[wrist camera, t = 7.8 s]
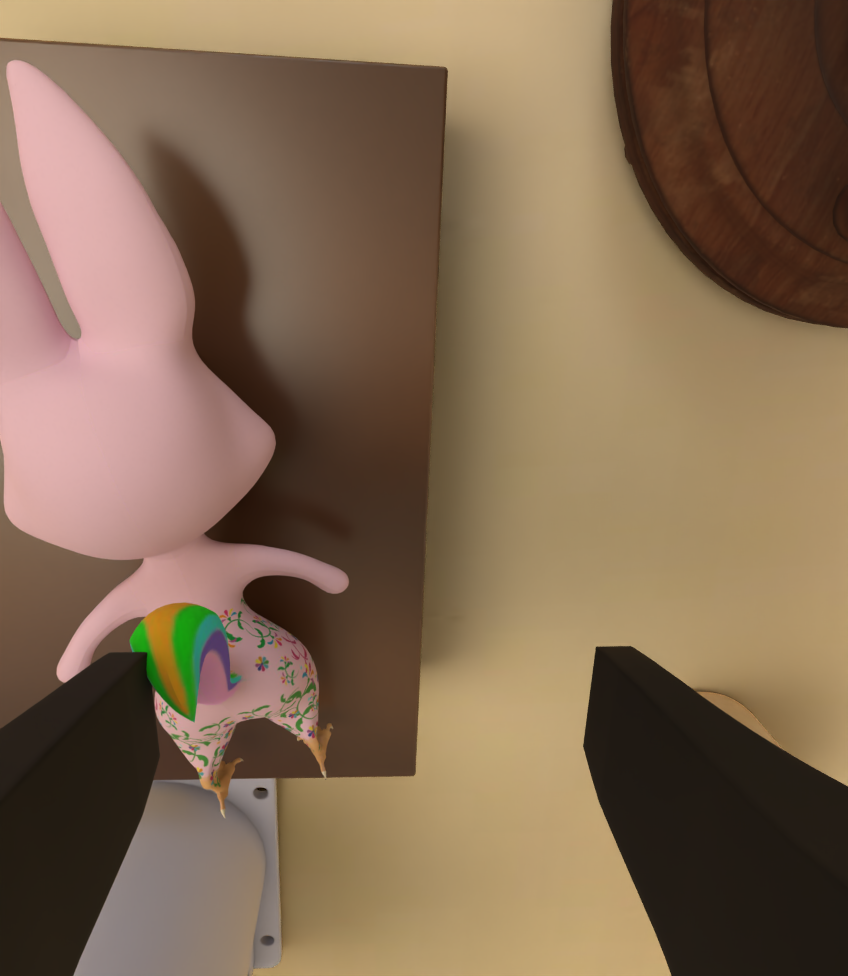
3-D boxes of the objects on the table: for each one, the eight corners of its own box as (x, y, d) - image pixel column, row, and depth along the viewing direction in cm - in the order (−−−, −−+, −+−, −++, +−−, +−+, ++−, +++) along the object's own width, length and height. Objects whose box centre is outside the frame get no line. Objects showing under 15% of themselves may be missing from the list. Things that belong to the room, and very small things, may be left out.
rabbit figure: (374, 664, 19) (179, 42, 12) (436, 852, 14) (164, -33, 7) (151, 744, 18) (-209, 119, 11) (132, 976, 13) (-565, 99, 6)
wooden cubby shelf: (407, 671, 23) (415, 777, 19) (73, 673, 23) (-6, 784, 18) (428, 115, 18) (448, 65, 13) (-10, 88, 17) (-155, 26, 12)
